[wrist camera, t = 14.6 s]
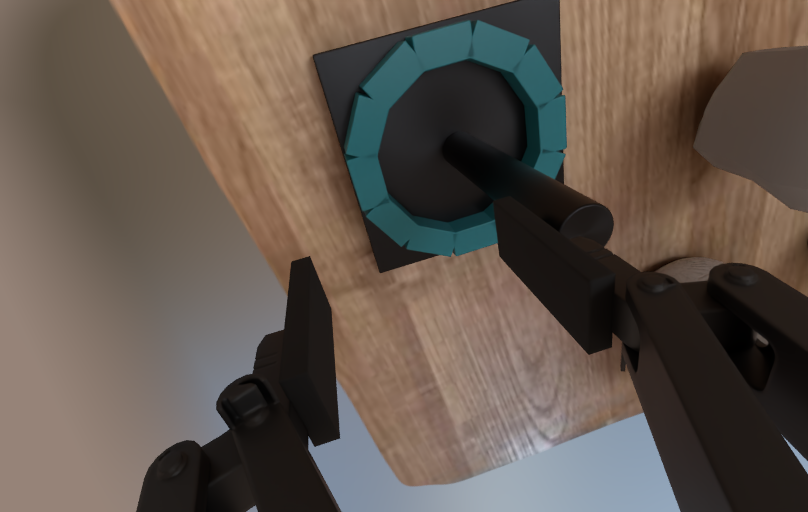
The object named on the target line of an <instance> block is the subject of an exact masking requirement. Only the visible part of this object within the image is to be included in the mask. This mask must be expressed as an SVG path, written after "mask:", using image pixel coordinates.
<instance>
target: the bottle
mask: <svg viewBox="0 0 808 512" xmlns="http://www.w3.org/2000/svg"><path fill="white" fill-rule="evenodd" d="M693 148H694V149H695V150H696V151H697V152H698V153H700V154H701V155H702V156H703V157H704V158H705V159H706V160H707V161H708V162H710V163H711V164H712V165H713V166H714V167H717V168H719V169H722V170H725V171H728V172H730V173H733V174H736V175H739V176H741V177H744V178H747V179H750V180H752V181H754V182H755V183H757V184H758V185H759V186H761V187H762V188H763V189H765V190H766V191H767V192H769V193H770V194H772V195H773V196H774V197H776V198H777V199H778V200H780V201H781V202H782V203H784V204H785V205H786V206H788V207H789V208H790V209H794V210H798V211H803V212H808V46H796V47H783V48H773V49H764V50H758V51H752V52H746V53H742V55H741V56H740V57H739V59H738V60H737V62H736V63H735V64H734V66H733V67H732V68H731V70H730V71H729V72H728V74H727V75H726V77H725V78H724V79H723V81H722V82H721V83H720V85H719V86H718V87H717V88H716V90H715V91H714V93H713V95H712V97H711V99H710V101H709V103H708V105H707V107H706V109H705V111H704V115H703V119H702V120H701V121H700V123H699V126H698V130H697V134H696V138H695V142H694V145H693Z"/></svg>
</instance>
